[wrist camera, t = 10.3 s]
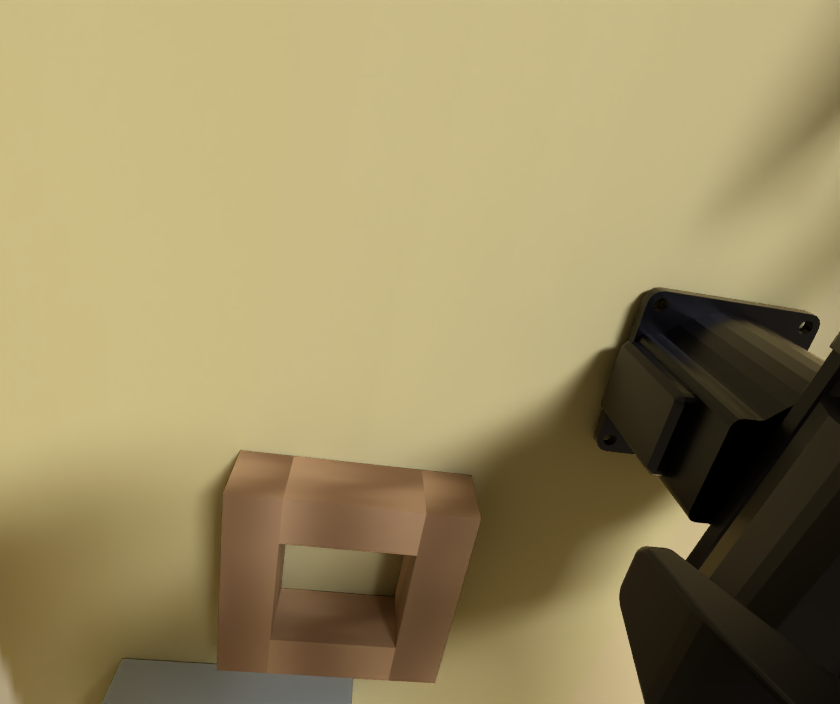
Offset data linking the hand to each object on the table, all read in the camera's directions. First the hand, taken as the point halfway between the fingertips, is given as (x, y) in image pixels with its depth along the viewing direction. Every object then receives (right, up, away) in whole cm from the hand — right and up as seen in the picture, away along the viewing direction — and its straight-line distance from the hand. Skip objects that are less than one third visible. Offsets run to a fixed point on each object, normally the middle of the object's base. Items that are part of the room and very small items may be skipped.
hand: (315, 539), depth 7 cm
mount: (-2, -6, +16) cm, 17 cm away
